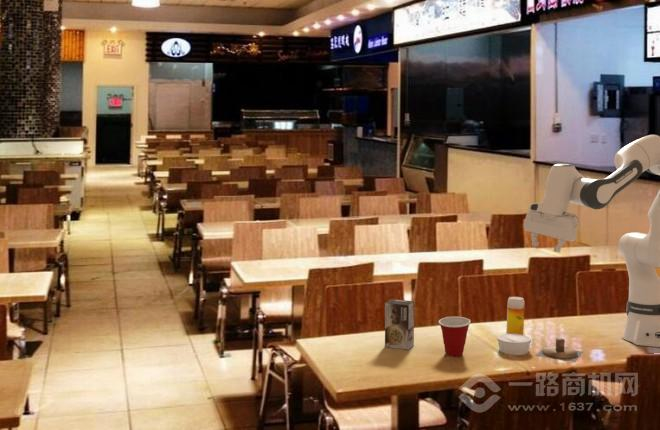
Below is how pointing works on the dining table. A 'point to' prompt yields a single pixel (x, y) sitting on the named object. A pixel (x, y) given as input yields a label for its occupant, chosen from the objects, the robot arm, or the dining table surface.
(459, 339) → the plastic cup
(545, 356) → the mat
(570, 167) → the robot arm
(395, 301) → the coffee box
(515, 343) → the ramekin
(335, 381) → the dining table surface
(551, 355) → the lid
